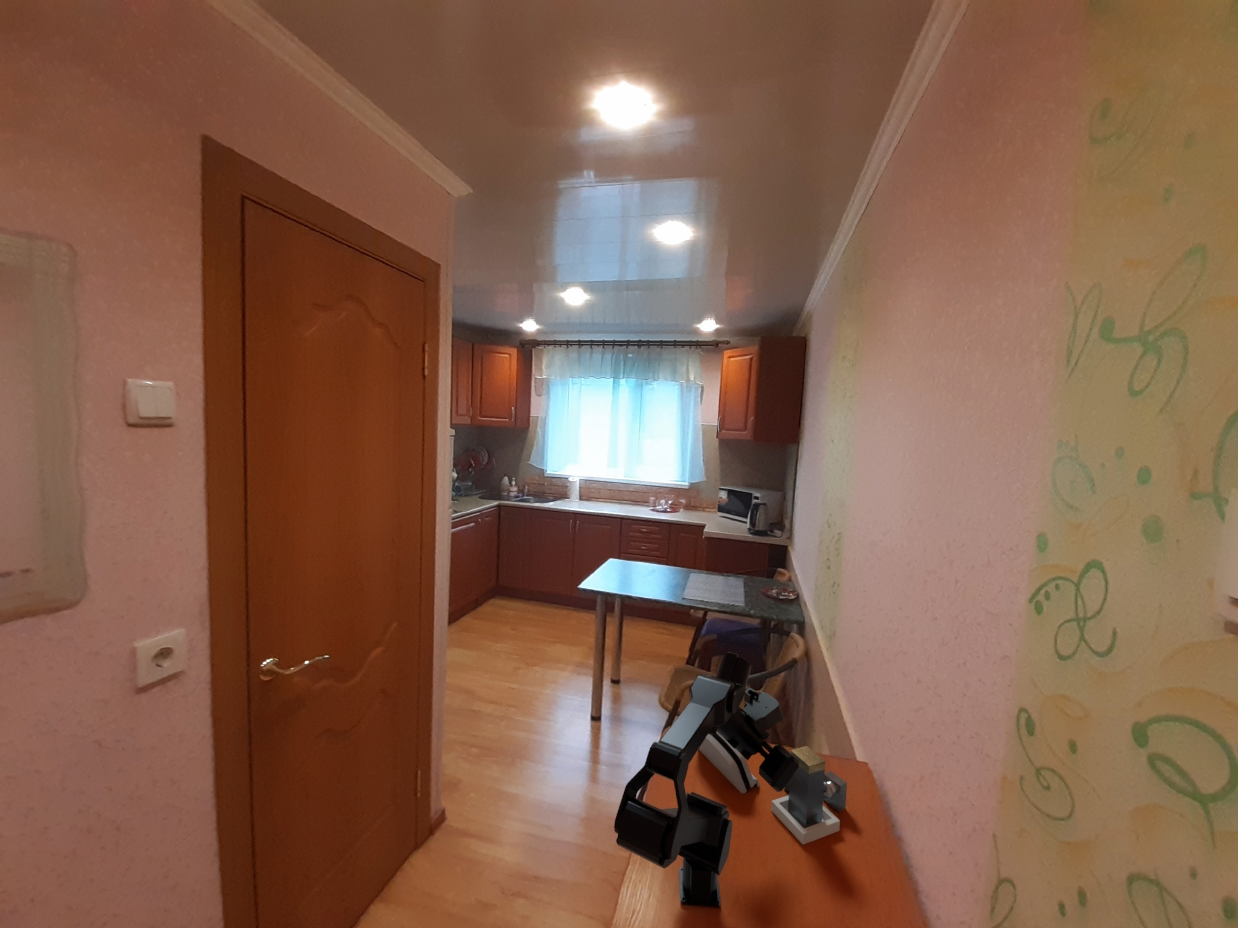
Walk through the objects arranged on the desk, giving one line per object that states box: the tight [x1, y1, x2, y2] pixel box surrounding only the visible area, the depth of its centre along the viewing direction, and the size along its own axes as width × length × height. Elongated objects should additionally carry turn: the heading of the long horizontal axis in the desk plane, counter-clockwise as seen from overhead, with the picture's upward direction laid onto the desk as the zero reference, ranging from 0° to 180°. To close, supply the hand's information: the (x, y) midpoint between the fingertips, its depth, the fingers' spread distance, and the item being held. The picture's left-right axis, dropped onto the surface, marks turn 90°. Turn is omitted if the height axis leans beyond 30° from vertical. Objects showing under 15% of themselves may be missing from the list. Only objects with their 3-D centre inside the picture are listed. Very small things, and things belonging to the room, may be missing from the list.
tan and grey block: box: [788, 745, 826, 828], centre depth 100 cm, size 5×4×13 cm
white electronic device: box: [698, 732, 760, 794], centre depth 115 cm, size 17×5×10 cm, turn 26°
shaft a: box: [823, 770, 848, 813], centre depth 105 cm, size 5×4×6 cm
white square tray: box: [770, 794, 841, 846], centre depth 101 cm, size 9×9×2 cm
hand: (777, 765), depth 97 cm, fingers open, 9 cm apart
